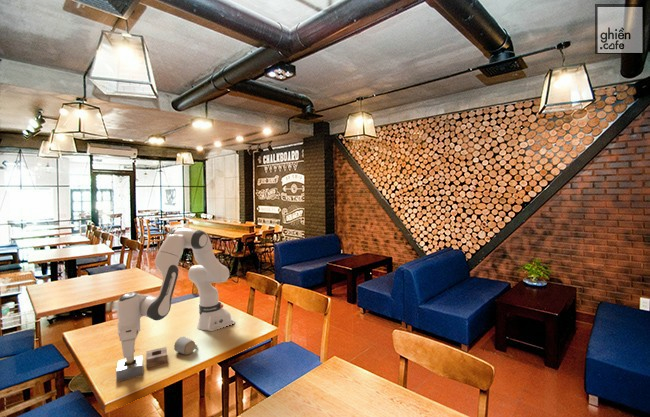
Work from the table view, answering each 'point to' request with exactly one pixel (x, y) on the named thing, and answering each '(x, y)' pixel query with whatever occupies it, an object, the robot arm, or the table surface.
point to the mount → (156, 357)
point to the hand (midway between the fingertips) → (130, 357)
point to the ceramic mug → (184, 345)
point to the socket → (129, 369)
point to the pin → (130, 361)
